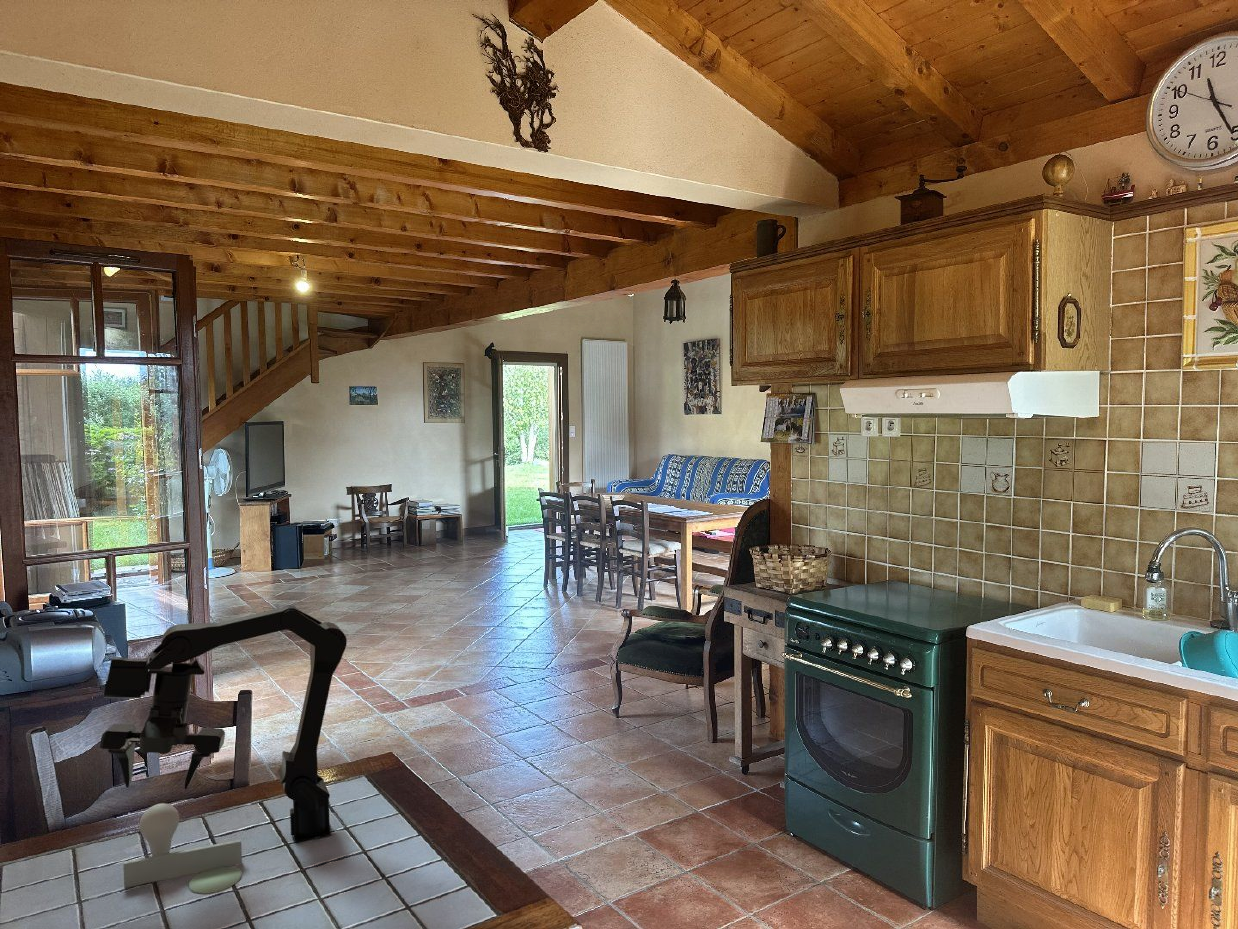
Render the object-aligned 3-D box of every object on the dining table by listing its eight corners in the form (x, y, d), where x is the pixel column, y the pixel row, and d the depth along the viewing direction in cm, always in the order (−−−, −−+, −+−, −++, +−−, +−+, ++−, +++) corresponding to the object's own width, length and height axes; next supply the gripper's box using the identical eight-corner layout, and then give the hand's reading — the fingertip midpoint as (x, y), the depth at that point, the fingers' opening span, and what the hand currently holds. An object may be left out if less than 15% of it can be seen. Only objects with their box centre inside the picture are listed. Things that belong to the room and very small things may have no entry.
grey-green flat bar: (242, 861, 149) (241, 839, 148) (241, 863, 148) (241, 841, 148) (125, 885, 141) (124, 862, 141) (124, 887, 141) (123, 864, 141)
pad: (241, 864, 148) (241, 863, 148) (240, 886, 140) (240, 884, 140) (190, 875, 144) (190, 873, 144) (187, 898, 137) (187, 896, 137)
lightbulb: (163, 877, 144) (161, 814, 144) (133, 874, 145) (130, 811, 145) (188, 859, 150) (186, 798, 150) (159, 857, 151) (156, 796, 151)
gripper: (96, 707, 138) (81, 803, 137) (219, 713, 143) (206, 806, 142) (117, 690, 148) (103, 779, 148) (231, 697, 153) (218, 783, 153)
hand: (157, 787), depth 147 cm, fingers open, 9 cm apart
